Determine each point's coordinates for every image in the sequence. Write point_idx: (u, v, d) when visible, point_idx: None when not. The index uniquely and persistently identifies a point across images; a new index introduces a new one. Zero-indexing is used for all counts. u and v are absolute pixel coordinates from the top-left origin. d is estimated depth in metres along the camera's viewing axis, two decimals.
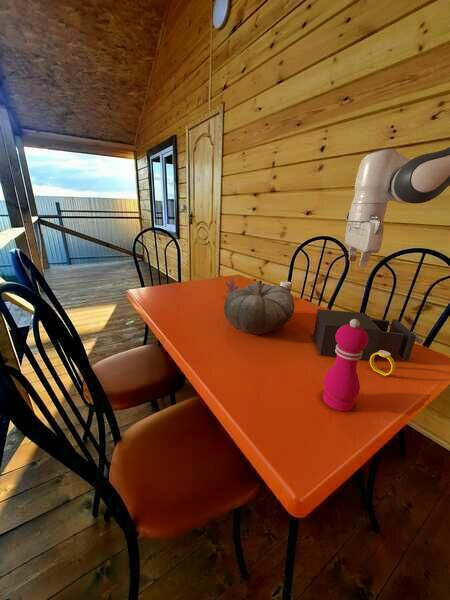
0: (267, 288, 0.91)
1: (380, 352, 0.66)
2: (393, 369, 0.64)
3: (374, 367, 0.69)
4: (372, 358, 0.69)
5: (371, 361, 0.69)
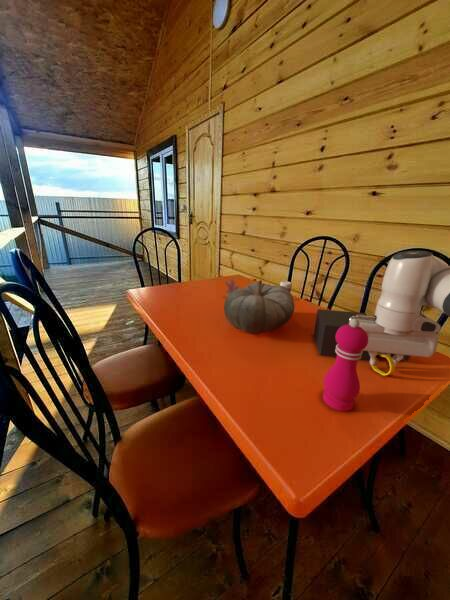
0: (267, 288, 0.91)
1: (380, 352, 0.66)
2: (392, 369, 0.64)
3: (374, 367, 0.69)
4: None
5: None
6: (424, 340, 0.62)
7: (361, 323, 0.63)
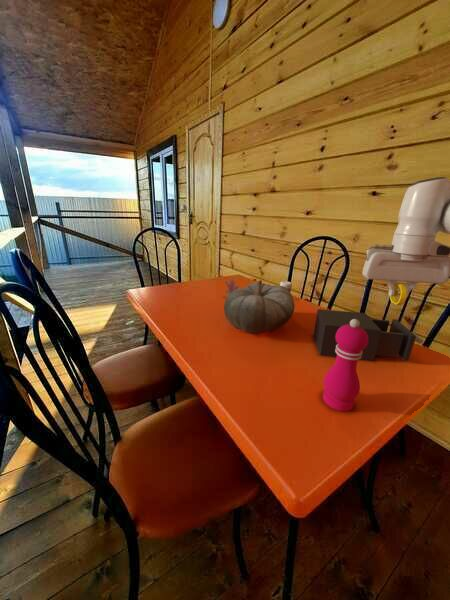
0: (267, 288, 0.91)
1: (396, 282, 0.71)
2: (402, 297, 0.68)
3: (393, 299, 0.73)
4: None
5: None
6: (439, 266, 0.65)
7: (379, 252, 0.67)
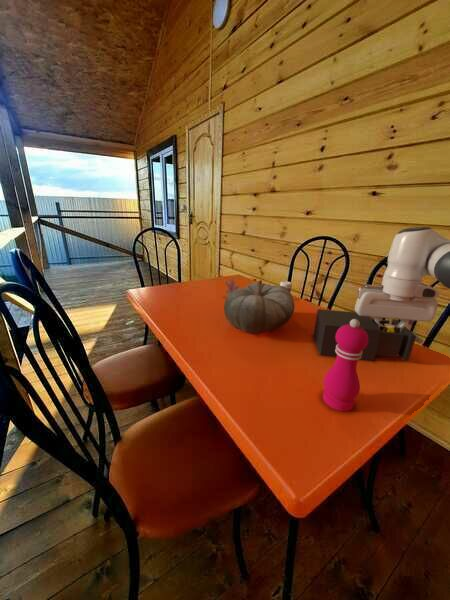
0: (267, 288, 0.91)
1: (385, 324, 0.76)
2: None
3: None
4: None
5: None
6: (425, 305, 0.70)
7: (370, 292, 0.72)
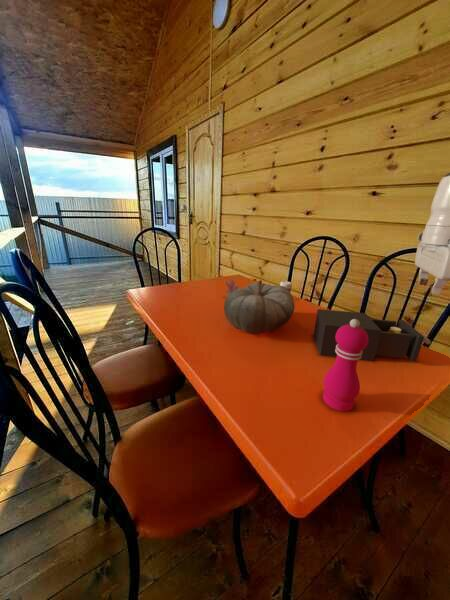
0: (267, 288, 0.91)
1: (392, 327, 0.76)
2: None
3: None
4: None
5: None
6: None
7: None
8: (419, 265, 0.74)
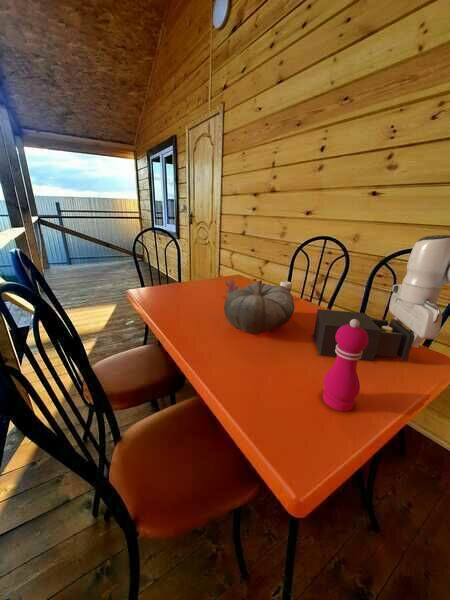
0: (267, 288, 0.91)
1: (383, 326, 0.76)
2: None
3: None
4: None
5: None
6: None
7: None
8: (395, 314, 0.79)
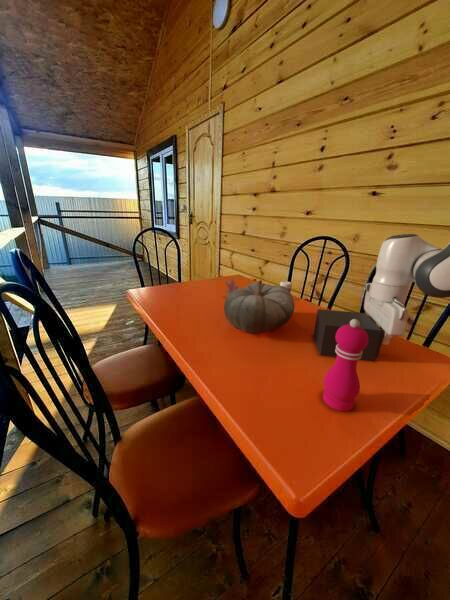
0: (267, 288, 0.91)
1: None
2: None
3: None
4: None
5: None
6: None
7: None
8: (368, 312, 0.80)
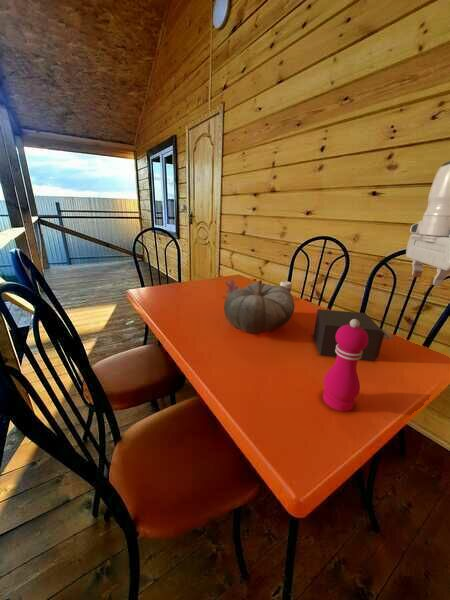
0: (267, 288, 0.91)
1: None
2: None
3: None
4: None
5: None
6: None
7: None
8: (413, 257, 0.73)
